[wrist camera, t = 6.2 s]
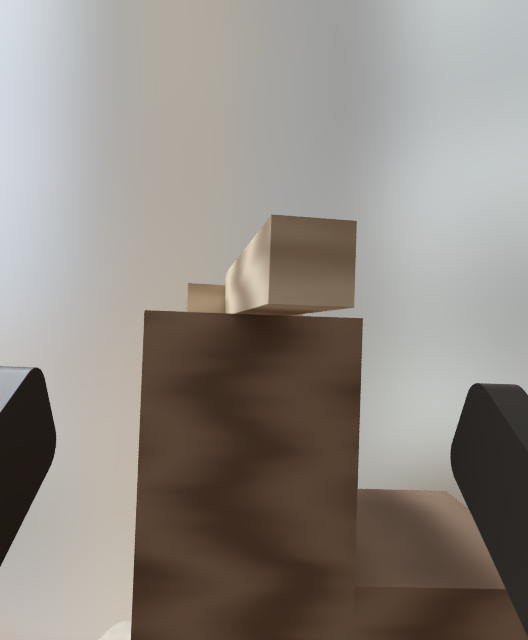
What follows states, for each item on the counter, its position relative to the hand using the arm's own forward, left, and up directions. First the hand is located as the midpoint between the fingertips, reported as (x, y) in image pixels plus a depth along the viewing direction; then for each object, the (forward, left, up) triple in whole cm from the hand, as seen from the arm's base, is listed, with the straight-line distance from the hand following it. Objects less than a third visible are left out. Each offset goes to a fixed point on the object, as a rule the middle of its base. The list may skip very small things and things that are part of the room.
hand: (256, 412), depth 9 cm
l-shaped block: (0, +13, +2) cm, 13 cm away
